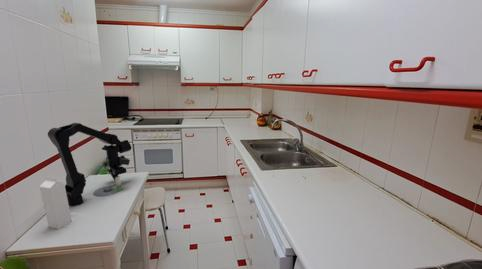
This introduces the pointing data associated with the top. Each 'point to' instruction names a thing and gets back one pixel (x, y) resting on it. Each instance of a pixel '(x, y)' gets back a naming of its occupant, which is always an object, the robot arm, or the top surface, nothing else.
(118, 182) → the peg
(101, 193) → the grey round disc
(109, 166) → the robot arm
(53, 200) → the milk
